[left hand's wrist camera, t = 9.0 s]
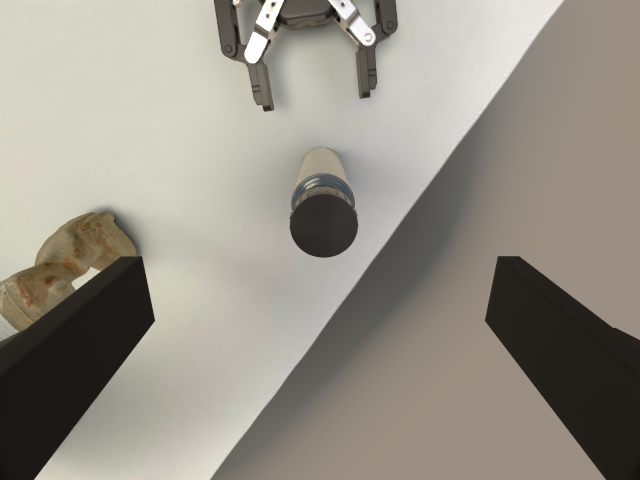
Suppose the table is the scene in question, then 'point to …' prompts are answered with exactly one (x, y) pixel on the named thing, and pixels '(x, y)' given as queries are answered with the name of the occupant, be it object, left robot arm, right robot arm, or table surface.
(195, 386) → the table surface
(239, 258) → the table surface
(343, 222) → the cap
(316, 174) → the bottle
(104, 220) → the sculpture
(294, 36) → the table surface
